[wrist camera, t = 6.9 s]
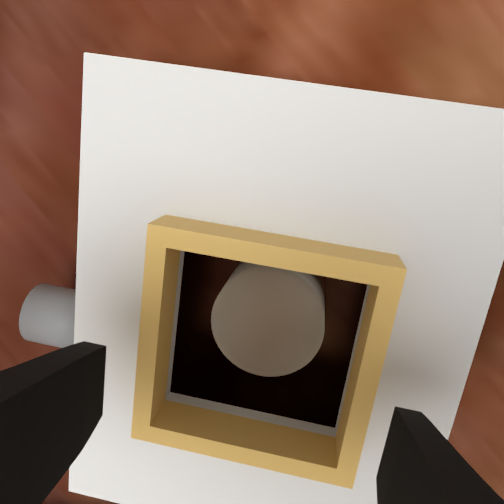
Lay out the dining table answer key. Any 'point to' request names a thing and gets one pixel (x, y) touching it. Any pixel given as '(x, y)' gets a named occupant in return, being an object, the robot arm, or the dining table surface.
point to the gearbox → (274, 255)
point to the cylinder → (269, 319)
